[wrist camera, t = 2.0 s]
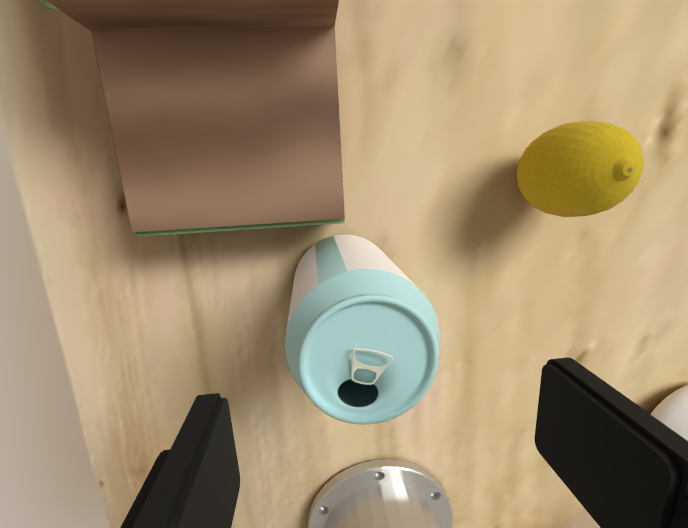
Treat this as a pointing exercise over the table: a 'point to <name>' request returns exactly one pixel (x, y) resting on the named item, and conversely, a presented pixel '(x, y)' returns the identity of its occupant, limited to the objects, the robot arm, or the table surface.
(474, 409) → the table surface
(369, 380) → the can
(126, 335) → the table surface
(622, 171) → the lemon
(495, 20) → the table surface
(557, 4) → the table surface
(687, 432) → the flower in vase
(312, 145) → the stand
